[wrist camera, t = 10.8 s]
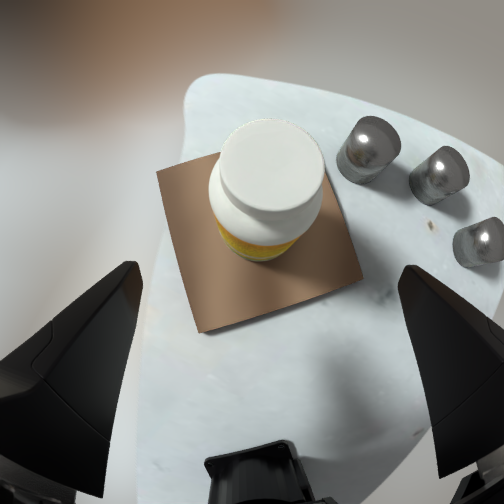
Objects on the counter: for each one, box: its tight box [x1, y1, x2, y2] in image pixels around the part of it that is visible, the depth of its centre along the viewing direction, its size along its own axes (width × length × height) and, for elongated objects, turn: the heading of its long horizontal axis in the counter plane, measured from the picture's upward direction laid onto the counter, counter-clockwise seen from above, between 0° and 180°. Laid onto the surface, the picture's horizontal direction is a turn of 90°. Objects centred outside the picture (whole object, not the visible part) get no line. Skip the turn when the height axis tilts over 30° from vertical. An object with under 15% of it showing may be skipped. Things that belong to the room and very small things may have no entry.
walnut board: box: [156, 152, 364, 333], centre depth 20 cm, size 12×12×1 cm
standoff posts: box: [336, 116, 504, 268], centre depth 19 cm, size 6×17×4 cm, turn 58°
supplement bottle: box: [209, 119, 325, 261], centre depth 15 cm, size 5×5×10 cm
